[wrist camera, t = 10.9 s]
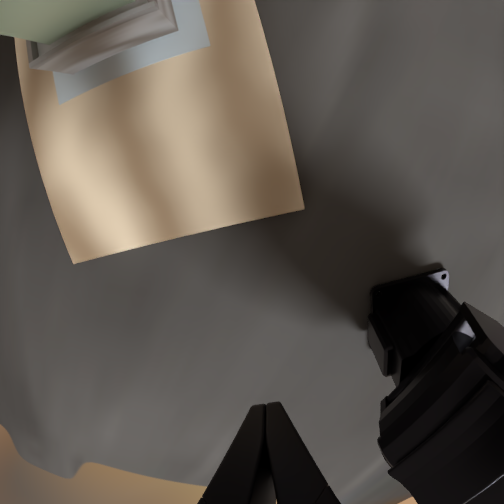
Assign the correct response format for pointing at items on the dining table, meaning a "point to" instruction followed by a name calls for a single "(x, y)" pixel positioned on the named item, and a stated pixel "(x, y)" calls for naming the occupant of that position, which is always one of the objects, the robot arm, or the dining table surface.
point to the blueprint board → (158, 124)
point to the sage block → (50, 17)
